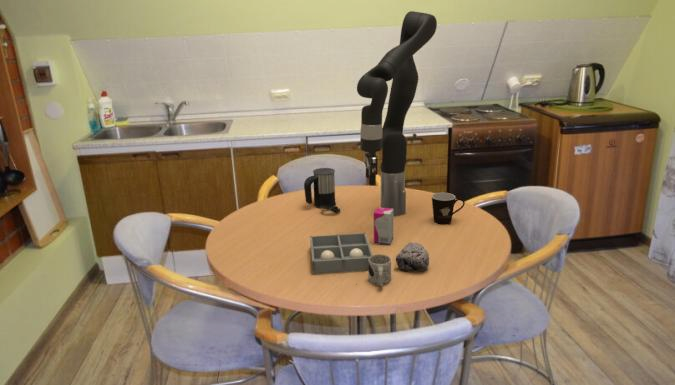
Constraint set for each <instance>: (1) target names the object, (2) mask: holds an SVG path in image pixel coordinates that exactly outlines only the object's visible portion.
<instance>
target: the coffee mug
mask: <svg viewBox="0 0 675 385" xmlns="http://www.w3.org/2000/svg"><path fill="white" fill-rule="evenodd" d="M458 201H462V205H461V207H459V208H458V209H456V210H454V207H455V204H457V202H458ZM431 203H432V205H431V206H432V214H433V223H435V224H437V225H440V226H445V225H450V224H452V219H453V216H454V214H455V213H458V212H459V211H460V210H462V209H463V207H464V206H465V205H466V204H465V203H466V202H465V200H464V199H463V198H456V195H454V194H453V193H449V192H435V193H433V194H432V195H431Z"/></svg>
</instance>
